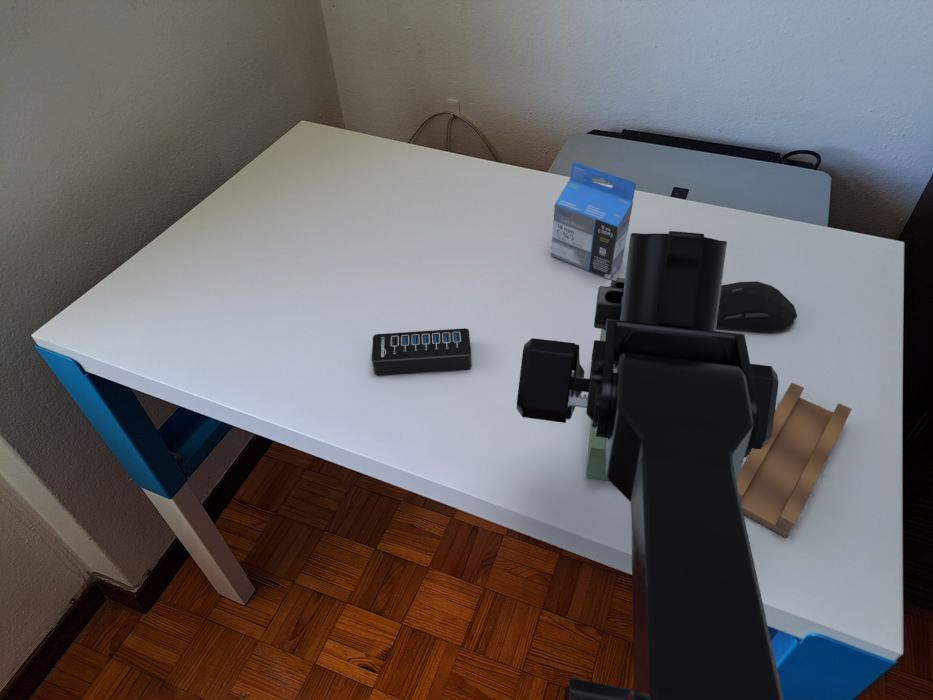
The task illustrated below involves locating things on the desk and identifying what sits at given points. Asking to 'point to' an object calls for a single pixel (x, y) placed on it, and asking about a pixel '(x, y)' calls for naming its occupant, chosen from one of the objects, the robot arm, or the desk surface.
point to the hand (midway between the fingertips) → (633, 385)
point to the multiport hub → (421, 352)
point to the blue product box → (592, 220)
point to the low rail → (789, 461)
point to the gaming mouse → (754, 307)
